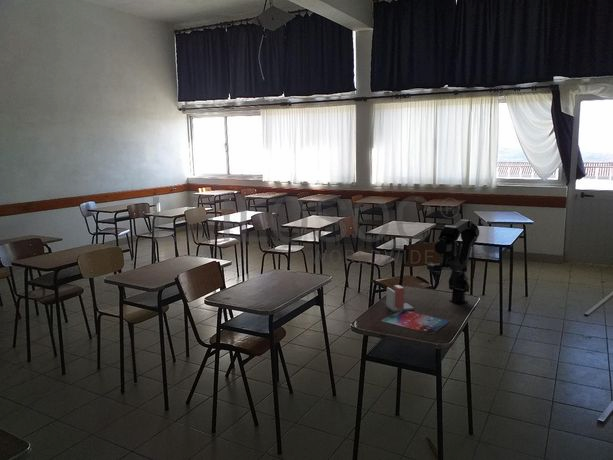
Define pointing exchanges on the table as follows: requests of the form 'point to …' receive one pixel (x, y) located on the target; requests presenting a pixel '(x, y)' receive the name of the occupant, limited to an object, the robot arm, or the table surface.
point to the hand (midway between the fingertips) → (445, 285)
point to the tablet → (416, 321)
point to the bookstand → (391, 302)
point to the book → (399, 296)
